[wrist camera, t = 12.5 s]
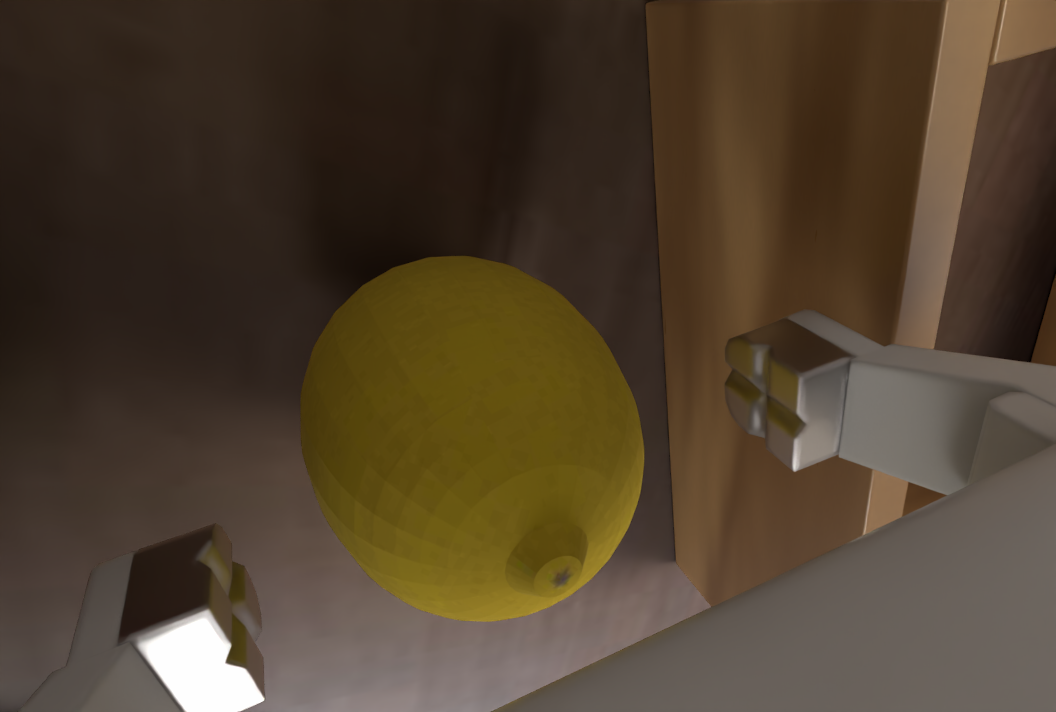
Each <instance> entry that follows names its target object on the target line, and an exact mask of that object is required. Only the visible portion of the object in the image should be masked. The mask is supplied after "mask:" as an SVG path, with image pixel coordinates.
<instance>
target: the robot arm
mask: <svg viewBox="0 0 1056 712" xmlns="http://www.w3.org/2000/svg"><path fill="white" fill-rule="evenodd" d="M725 362H726V363H727V364H728V365H729V366H730V367H731V368H732V371H731V373H730V375H729V376H728V378H727V380H726V382H725V401H726V404H727V406H728V409H729V411H730V414H731V416H732V417H733V419H734V420H735V421H736V423H737V424H738V425H739V426H740V427H741V428H742V429H743V430H744V431H745V432H747V433H748V434H751V435H755V436H759V437H763V438H765V444H766V449H767V450H768V451H769V452H770V453H772V454H773V455H774V456H775V457H777V458H778V459H779V460H780V461H781V462H783V463H784V464H785V465H786V466H787V467H789V468H790V469H791V470H792V471H793V472H796V471H798V470H801V469H803V468H806V467H808V466H811V465H813V464H816V463H818V462H821V461H823V460H826V459H828V458H831V457H833V456H836V455H838V454H839V457H840V458H843V459H846V460H848V461H851V462H854V463H857V464H860V465H863V466H865V467H868V468H871V469H874V470H877V471H880V472H882V473H885V474H888V475H891V476H894V477H897V478H899V479H902V480H905V481H908V482H911V483H914V484H916V485H919V486H922V487H925V488H928V489H931V490H933V491H936V492H939V493H942V494H945V495H947V496H945V497H943V498H941V499H938V500H936V501H934V502H932V503H930V504H928V505H926V506H924V507H922V508H919V509H917V510H915V511H913V512H911V513H909V514H907V515H905V516H903V517H900V518H898V519H896V520H894V521H892V522H890V523H888V524H886V525H884V526H881V527H879V528H877V529H875V530H873V531H871V532H869V533H867V534H865V535H863V536H860V537H858V538H856V539H854V540H852V541H850V542H848V543H846V544H844V545H841V546H839V547H837V548H835V549H833V550H831V551H829V552H827V553H825V554H822V555H820V556H818V557H816V558H814V559H812V560H810V561H808V562H806V563H803V564H801V565H799V566H797V567H795V568H793V569H791V570H789V571H787V572H784V573H782V574H780V575H778V576H776V577H774V578H772V579H770V580H768V581H765V582H763V583H761V584H759V585H757V586H755V587H753V588H751V589H749V590H746V591H744V592H742V593H740V594H738V595H736V596H734V597H732V598H730V599H727V600H725V601H723V602H721V603H719V604H717V605H715V606H713V607H711V608H709V609H706V610H704V611H702V612H700V613H698V614H696V615H694V616H692V617H690V618H687V619H685V620H683V621H681V622H679V623H677V624H675V625H673V626H671V627H668V628H666V629H664V630H662V631H660V632H658V633H656V634H654V635H652V636H649V637H647V638H645V639H643V640H641V641H639V642H637V643H635V644H633V645H631V646H628V647H626V648H624V649H622V650H620V651H618V652H616V653H614V654H612V655H609V656H607V657H605V658H603V659H601V660H599V661H597V662H595V663H593V664H590V665H588V666H586V667H584V668H582V669H580V670H578V671H576V672H574V673H571V674H569V675H567V676H565V677H563V678H561V679H559V680H557V681H555V682H553V683H550V684H548V685H546V686H544V687H542V688H540V689H538V690H536V691H534V692H531V693H529V694H527V695H525V696H523V697H521V698H519V699H517V700H515V701H512V702H510V703H508V704H506V705H504V706H502V707H500V708H498V709H496V710H493V711H491V712H1056V366H1051V365H1044V364H1036V363H1029V362H1021V361H1014V360H1007V359H999V358H992V357H985V356H977V355H970V354H963V353H955V352H948V351H941V350H933V349H926V348H919V347H911V346H904V345H896V344H890V345H888V346H885V347H884V346H882V345H880V344H878V343H876V342H874V341H872V340H871V339H869V338H867V337H865V336H863V335H861V334H859V333H857V332H855V331H853V330H851V329H849V328H848V327H846V326H844V325H842V324H840V323H838V322H836V321H834V320H832V319H830V318H828V317H826V316H825V315H823V314H821V313H819V312H817V311H815V310H807V309H804V310H802V311H799V312H796V313H794V314H791V315H789V316H786V317H784V318H781V319H780V320H779V321H776V322H774V323H771V324H768V325H765V326H763V327H760V328H757V329H754V330H752V331H749V332H746V333H744V334H741V335H738V336H735V337H733V338H730V339H728V342H727V344H726V347H725ZM261 632H262V622H261V612H260V607H259V603H258V598H257V594H256V591H255V588H254V586H253V583H252V581H251V578H250V576H249V574H248V572H247V571H246V569H245V567H244V566H243V565H240V564H238V563H235V562H233V561H232V543H231V541H230V540H229V538H228V536H227V535H226V533H225V531H224V530H223V528H222V527H221V526H220V525H218V524H216V523H215V524H212V525H209V526H206V527H203V528H200V529H198V530H195V531H192V532H189V533H186V534H183V535H180V536H177V537H174V538H171V539H168V540H165V541H162V542H159V543H156V544H153V545H150V546H147V547H144V548H141V549H139V550H138V551H133V552H130V553H128V554H125V555H122V556H119V557H116V558H113V559H111V560H108V561H105V562H102V563H99V564H98V565H97V566H96V567H95V568H94V569H93V570H92V571H91V573H90V576H89V579H88V583H87V587H86V591H85V595H84V599H83V603H82V607H81V610H80V614H79V618H78V622H77V626H76V630H75V634H74V637H73V641H72V645H71V649H70V653H69V657H68V661H67V664H66V667H64V668H61V669H59V670H56V671H54V672H52V673H51V674H50V675H49V677H48V678H47V679H46V680H45V681H44V682H43V683H42V685H41V686H40V687H39V688H38V689H37V690H36V691H35V692H34V694H33V695H32V696H31V697H30V698H29V699H28V700H27V702H26V703H25V704H24V705H23V706H22V707H21V708H20V710H19V711H18V712H241V711H243V710H245V709H247V708H249V707H251V706H254V705H256V704H258V703H260V702H262V701H264V700H265V690H264V663H263V656H262V655H261V653H260V651H259V649H258V648H257V646H256V644H255V641H256V640H257V638H258V637H259V635H260V633H261Z"/></svg>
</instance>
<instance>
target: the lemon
mask: <svg viewBox="0 0 1056 712" xmlns="http://www.w3.org/2000/svg"><path fill="white" fill-rule="evenodd" d="M300 406H301V446H302V454H303V457H304V461H305V464H306V468H307V471H308V474H309V477H310V480H311V483H312V486H313V489H314V492H315V495H316V498H317V500H318V503H319V505H320V508H321V510H322V512H323V514H324V516H325V518H326V520H327V522H328V523H329V525H330V527H331V528H332V530H333V531H334V533H335V534H336V536H337V537H338V539H339V540H340V541H341V542H342V544H343V545H344V546H345V547H346V549H347V550H348V551H349V553H350V554H351V555H352V556H353V558H354V559H355V560H356V562H357V563H358V564H359V565H360V566H361V568H362V569H363V570H364V571H365V572H366V574H367V575H368V576H369V577H370V578H371V579H373V580H374V581H375V582H376V583H377V584H378V585H380V586H381V587H382V588H384V589H385V590H387V591H388V592H390V593H392V594H393V595H395V596H396V597H398V598H399V599H401V600H402V601H404V602H405V603H407V604H409V605H411V606H413V607H415V608H417V609H419V610H422V611H425V612H429V613H432V614H436V615H439V616H442V617H446V618H450V619H455V620H461V621H486V622H489V621H499V620H505V619H511V618H517V617H523V616H526V615H529V614H532V613H534V612H537V611H540V610H543V609H546V608H548V607H550V606H552V605H554V604H555V603H557V602H559V601H561V600H563V599H564V598H566V597H568V596H570V595H571V594H573V593H574V592H575V591H577V590H578V589H579V588H580V587H582V586H583V585H584V584H585V583H587V582H588V581H589V580H590V579H592V578H593V577H594V575H595V574H596V573H597V572H598V571H599V570H600V569H601V568H602V567H603V566H604V564H605V563H606V562H607V561H608V560H609V559H610V557H611V556H612V554H613V552H614V551H615V549H616V548H617V546H618V545H619V543H620V541H621V540H622V538H623V536H624V535H625V533H626V531H627V530H628V527H629V525H630V522H631V519H632V517H633V514H634V511H635V509H636V506H637V503H638V499H639V496H640V492H641V485H642V477H643V469H644V443H643V437H642V431H641V424H640V419H639V414H638V410H637V405H636V402H635V400H634V397H633V395H632V392H631V390H630V388H629V386H628V384H627V382H626V380H625V378H624V376H623V374H622V372H621V370H620V368H619V366H618V364H617V362H616V360H615V359H614V357H613V355H612V353H611V351H610V349H609V347H608V346H607V344H606V343H605V341H604V339H603V338H602V337H601V335H600V334H599V333H598V332H597V330H596V329H595V328H594V327H593V326H592V325H591V324H590V323H589V322H588V321H587V320H586V319H585V318H584V317H583V316H582V315H581V314H580V313H579V311H578V310H577V309H576V308H575V307H574V306H573V305H572V304H571V303H570V302H569V301H568V300H567V299H566V298H565V297H564V296H563V295H561V294H560V293H559V292H557V291H556V290H555V289H554V288H552V287H550V286H548V285H546V284H545V283H543V282H541V281H539V280H537V279H535V278H534V277H532V276H530V275H528V274H526V273H524V272H522V271H521V270H519V269H517V268H515V267H513V266H510V265H507V264H504V263H499V262H495V261H490V260H485V259H480V258H476V257H471V256H444V257H428V258H425V259H421V260H418V261H414V262H411V263H407V264H404V265H401V266H397V267H394V268H392V269H390V270H388V271H387V272H385V273H383V274H381V275H380V276H378V277H376V278H375V279H373V280H371V281H369V282H368V283H366V284H364V285H363V286H361V287H360V288H359V289H358V290H357V291H356V292H355V293H354V294H353V295H352V296H351V297H350V298H349V299H348V300H347V301H346V302H345V303H344V304H343V305H342V306H341V307H340V308H339V309H338V310H336V311H335V313H334V314H333V316H332V318H331V319H330V321H329V322H328V324H327V325H326V327H325V329H324V330H323V332H322V333H321V335H320V337H319V338H318V340H317V341H316V343H315V346H314V348H313V350H312V354H311V357H310V361H309V364H308V368H307V371H306V374H305V378H304V381H303V385H302V390H301V404H300Z"/></svg>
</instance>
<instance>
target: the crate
mask: <svg viewBox="0 0 1056 712" xmlns="http://www.w3.org/2000/svg"><path fill="white" fill-rule="evenodd" d="M645 8H646V26H647V45H648V63H649V81H650V99H651V117H652V136H653V154H654V172H655V190H656V208H657V227H658V245H659V263H660V281H661V299H662V317H663V336H664V354H665V372H666V390H667V408H668V427H669V445H670V463H671V481H672V499H673V518H674V536H675V554H676V564H677V565H678V566H679V567H680V569H681V570H682V571H683V572H684V574H685V575H686V576H687V577H688V579H689V580H690V581H691V582H692V583H693V585H694V586H695V587H696V588H697V590H698V591H699V592H700V593H701V595H702V596H703V597H704V598H705V599H706V601H707V602H708V603H709V604H710V606H711V607H713V606H715V605H717V604H719V603H721V602H723V601H725V600H727V599H730V598H732V597H734V596H736V595H738V594H740V593H742V592H744V591H746V590H749V589H751V588H753V587H755V586H757V585H759V584H761V583H763V582H765V581H768V580H770V579H772V578H774V577H776V576H778V575H780V574H782V573H784V572H787V571H789V570H791V569H793V568H795V567H797V566H799V565H801V564H803V563H806V562H808V561H810V560H812V559H814V558H816V557H818V556H820V555H822V554H825V553H827V552H829V551H831V550H833V549H835V548H837V547H839V546H841V545H844V544H846V543H848V542H850V541H852V540H854V539H856V538H858V537H860V536H863V535H865V534H867V533H869V532H871V531H873V530H875V529H877V528H879V527H881V526H884V525H886V524H888V523H890V522H892V521H894V520H896V519H898V518H900V517H903V516H905V515H907V514H909V513H911V512H913V511H915V510H917V509H919V508H922V507H924V506H926V505H928V504H930V503H932V502H934V501H936V500H938V499H941V498H943V497H945V496H947V495H945V494H942V493H939V492H936V491H933V490H931V489H928V488H925V487H922V486H919V485H916V484H914V483H911V482H908V481H905V480H902V479H899V478H897V477H894V476H891V475H888V474H885V473H882V472H880V471H877V470H874V469H871V468H868V467H865V466H863V465H860V464H857V463H854V462H851V461H848V460H846V459H843V458H840V457H839V454H838V455H836V456H833V457H831V458H828V459H826V460H823V461H821V462H818V463H816V464H813V465H811V466H808V467H806V468H803V469H801V470H798V471H796V472H793V471H792V470H791V469H790V468H789V467H787V466H786V465H785V464H784V463H783V462H781V461H780V460H779V459H778V458H777V457H775V456H774V455H773V454H772V453H770V452H769V451H768V450H767V449H766V444H765V438H763V437H759V436H755V435H751V434H748V433H747V432H745V431H744V430H743V429H742V428H741V427H740V426H739V425H738V424H737V423H736V421H735V420H734V419H733V417H732V416H731V414H730V411H729V409H728V406H727V404H726V401H725V382H726V380H727V378H728V376H729V375H730V373H731V371H732V368H731V367H730V366H729V365H728V364H727V363H726V362H725V347H726V344H727V342H728V339H730V338H733V337H735V336H738V335H741V334H744V333H746V332H749V331H752V330H754V329H757V328H760V327H763V326H765V325H768V324H771V323H774V322H776V321H779V320H780V319H781V318H784V317H786V316H789V315H791V314H794V313H796V312H799V311H802V310H804V309H807V310H815V311H817V312H819V313H821V314H823V315H825V316H826V317H828V318H830V319H832V320H834V321H836V322H838V323H840V324H842V325H844V326H846V327H848V328H849V329H851V330H853V331H855V332H857V333H859V334H861V335H863V336H865V337H867V338H869V339H871V340H872V341H874V342H876V343H878V344H880V345H882V346H884V347H885V346H888V345H890V344H896V345H904V346H911V347H919V348H926V349H933V350H934V346H935V341H936V336H937V331H938V325H939V320H940V315H941V310H942V304H943V299H944V294H945V289H946V283H947V278H948V273H949V268H950V263H951V257H952V252H953V247H954V242H955V236H956V231H957V226H958V221H959V215H960V210H961V205H962V200H963V194H964V189H965V184H966V179H967V173H968V168H969V163H970V158H971V153H972V147H973V142H974V137H975V132H976V126H977V121H978V116H979V111H980V105H981V100H982V95H983V90H984V84H985V79H986V74H987V69H988V66H992V65H995V64H999V63H1003V62H1006V61H1010V60H1013V59H1017V58H1020V57H1024V56H1028V55H1031V54H1035V53H1038V52H1042V51H1045V50H1049V49H1053V48H1056V0H658V1H653V2H648V3H647V4H646V6H645ZM1031 363H1036V364H1044V365H1051V366H1056V274H1055V278H1054V281H1053V285H1052V288H1051V292H1050V295H1049V299H1048V302H1047V306H1046V310H1045V313H1044V317H1043V320H1042V324H1041V327H1040V331H1039V334H1038V338H1037V341H1036V345H1035V348H1034V352H1033V356H1032V359H1031Z"/></svg>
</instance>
